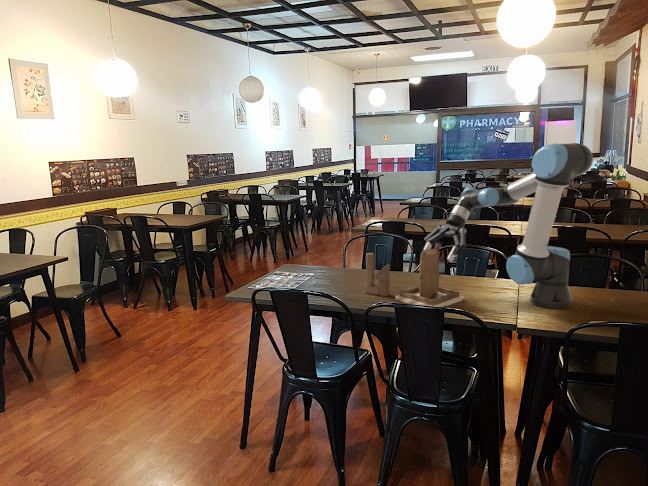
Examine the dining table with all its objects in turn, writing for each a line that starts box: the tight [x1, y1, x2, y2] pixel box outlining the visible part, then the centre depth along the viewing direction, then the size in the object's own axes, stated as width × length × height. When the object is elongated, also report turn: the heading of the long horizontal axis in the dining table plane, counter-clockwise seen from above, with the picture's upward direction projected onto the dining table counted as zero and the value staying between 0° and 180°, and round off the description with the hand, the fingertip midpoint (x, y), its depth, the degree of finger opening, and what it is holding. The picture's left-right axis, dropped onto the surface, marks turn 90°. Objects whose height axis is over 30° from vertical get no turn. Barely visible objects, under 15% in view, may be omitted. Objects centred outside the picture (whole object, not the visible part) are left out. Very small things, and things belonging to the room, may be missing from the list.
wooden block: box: [364, 252, 391, 297], centre depth 215 cm, size 4×11×18 cm, turn 56°
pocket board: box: [395, 285, 465, 308], centre depth 206 cm, size 20×20×4 cm
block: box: [418, 248, 440, 299], centre depth 205 cm, size 11×8×20 cm
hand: (435, 258), depth 207 cm, fingers open, 13 cm apart
